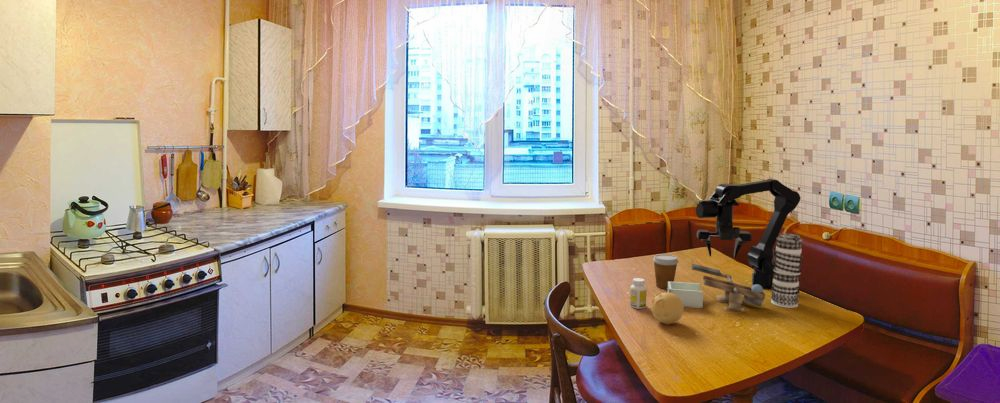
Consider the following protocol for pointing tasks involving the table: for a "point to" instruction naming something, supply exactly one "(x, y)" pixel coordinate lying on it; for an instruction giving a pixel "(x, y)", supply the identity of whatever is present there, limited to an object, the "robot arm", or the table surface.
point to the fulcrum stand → (732, 301)
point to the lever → (729, 285)
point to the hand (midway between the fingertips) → (722, 257)
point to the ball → (757, 288)
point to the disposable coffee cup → (664, 269)
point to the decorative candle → (787, 270)
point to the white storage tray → (687, 293)
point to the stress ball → (667, 308)
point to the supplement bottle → (638, 294)
